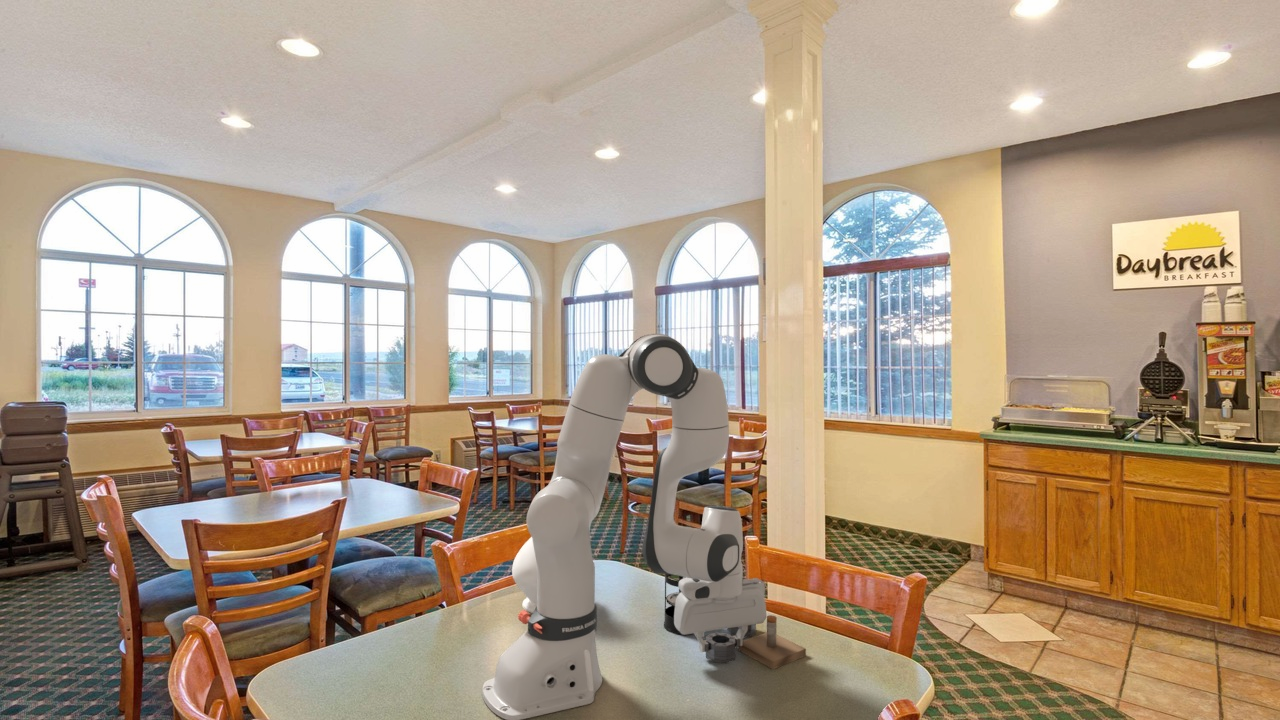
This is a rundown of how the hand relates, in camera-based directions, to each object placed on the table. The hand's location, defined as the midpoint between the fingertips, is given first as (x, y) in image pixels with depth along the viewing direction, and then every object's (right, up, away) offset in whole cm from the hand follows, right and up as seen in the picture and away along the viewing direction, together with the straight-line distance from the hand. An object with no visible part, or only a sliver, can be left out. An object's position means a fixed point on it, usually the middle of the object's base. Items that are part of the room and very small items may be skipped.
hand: (720, 648), depth 126 cm
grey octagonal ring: (+6, -2, +12) cm, 14 cm away
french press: (-7, -2, +15) cm, 16 cm away
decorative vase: (-41, -2, +27) cm, 49 cm away
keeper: (+11, -2, +2) cm, 11 cm away
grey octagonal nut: (0, -2, 0) cm, 2 cm away
